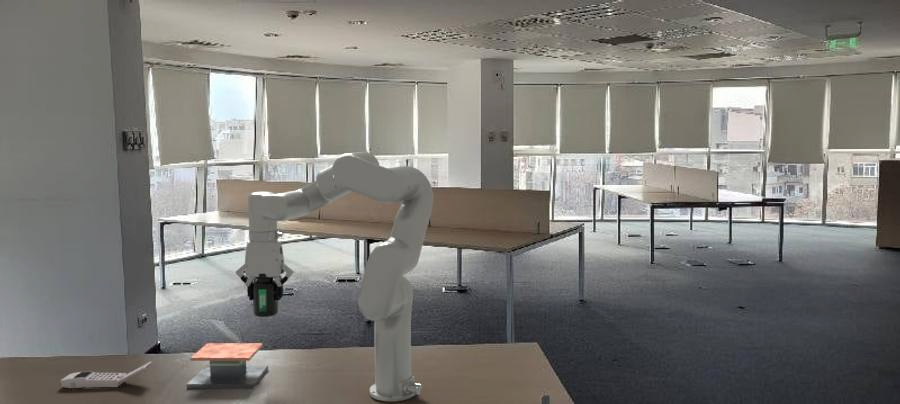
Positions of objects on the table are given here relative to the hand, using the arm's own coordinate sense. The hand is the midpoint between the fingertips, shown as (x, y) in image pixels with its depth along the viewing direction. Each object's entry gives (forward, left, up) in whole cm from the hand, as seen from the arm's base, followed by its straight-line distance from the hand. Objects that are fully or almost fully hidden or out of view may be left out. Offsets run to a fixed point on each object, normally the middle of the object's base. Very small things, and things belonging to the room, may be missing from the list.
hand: (265, 298), depth 188 cm
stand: (+7, +8, -22) cm, 25 cm away
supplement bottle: (0, 0, -5) cm, 5 cm away
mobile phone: (+33, +29, -23) cm, 49 cm away
